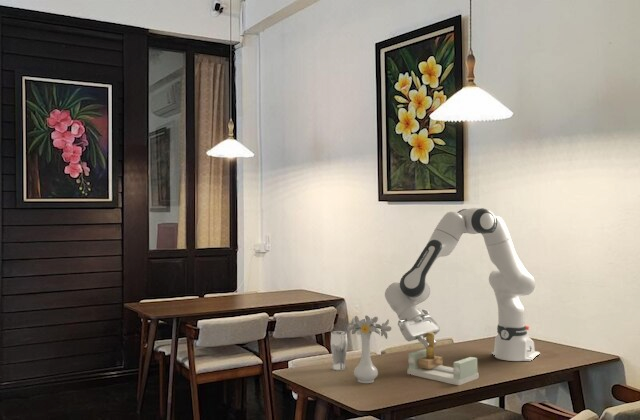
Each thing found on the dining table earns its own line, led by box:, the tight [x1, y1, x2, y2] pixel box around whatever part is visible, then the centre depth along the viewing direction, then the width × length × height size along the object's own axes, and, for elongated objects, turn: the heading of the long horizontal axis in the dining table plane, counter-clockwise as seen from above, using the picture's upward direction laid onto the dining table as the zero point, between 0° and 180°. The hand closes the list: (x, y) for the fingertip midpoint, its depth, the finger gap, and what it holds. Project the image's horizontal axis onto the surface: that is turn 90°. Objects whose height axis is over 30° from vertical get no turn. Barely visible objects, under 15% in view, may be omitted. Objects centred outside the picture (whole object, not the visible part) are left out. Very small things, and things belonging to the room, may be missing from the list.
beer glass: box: [330, 330, 348, 372], centre depth 267 cm, size 7×7×15 cm
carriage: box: [418, 332, 444, 369], centre depth 260 cm, size 10×5×13 cm, turn 135°
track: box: [406, 348, 480, 386], centre depth 256 cm, size 14×24×8 cm, turn 45°
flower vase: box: [345, 315, 392, 384], centre depth 249 cm, size 13×18×25 cm
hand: (431, 345), depth 259 cm, fingers closed on carriage, 3 cm apart
